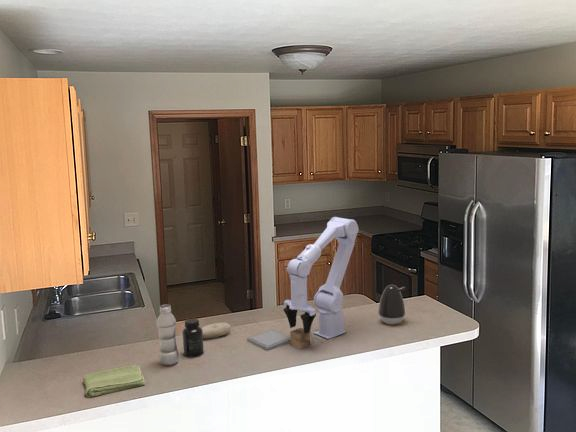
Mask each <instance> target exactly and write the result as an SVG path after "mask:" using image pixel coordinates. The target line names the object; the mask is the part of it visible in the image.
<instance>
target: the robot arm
mask: <svg viewBox="0 0 576 432" xmlns="http://www.w3.org/2000/svg"><path fill="white" fill-rule="evenodd" d="M358 232H359V225H358V224H357V221H356V220H355V219H354V218H353V219H351V218H343V217H338V216H333V217H331V218H330V219H329V221H328V222H327V223H326V228H325V229H324V231H323V232H322V233H321V234H320V236H319V237H318V238H317V239H316V240H315V242H314V243H313V244H312V243H311V244H310V243H309V244H307V245H306V246H305V248H304V249H303V250H302V251H301V253H299V254H298V255H297V257H296V258H292V259H291V260H290V261H289V262H288V264H287V267H286V271H287V273H288V275H289V280H290V299H286V300H284V301H283V305H284V307H285V308H283V312H284V314H285V315H286V318H287V320H288V324H289V327H290V329H291V328H295V327H296V325H297V314H298V311H300V312H302V313H303V314H300V319H301V321H302V325H303V327H302V328H303V329H304V333H305V334H306V333H309V332H310V333H311V328H312V324H313V322H314V320H315V318H316V317H317V313H316V310H317V311H318V330H316V331H314V332H313V334H315V335H317V336H319V337H322V338H324V339H327V340H329V339H332V338H335V337H338V336H340V335H342V334H346V332H347V331H346V330H345V314H344V312H343V310H342V307H343V298H344V293H343V292H342V290H341V289H340V288H341V286H342V283H343V279H344V277H345V274H346V270H347V269H348V268H347V267H348V264H349V262H350V259H351V255H352V253H353V249H354V247H355V244H356V238H357V236H358ZM334 239H336V240H337V242H338V246H337V250H336V253H335V255H334V258H333V261H332V264H331V267H330V270H329V272H328V275H327V279H326V282H325V284H323V285H320V286H319V288H318V291H317V292H316V293H315V294H314V296H313V305H314V306H315V307H316V308H313V306H311V305H309V304H308V276H309V274H310V273H311V268H313V265H314V264H315V263H316V262H317V261H318V259H319V258H320V257H321V255H322V250H323V249H324V248H326V247H327V245H329V244H330V243H331V242H332V241H333V240H334Z"/></svg>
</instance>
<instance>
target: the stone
mask: <svg viewBox="0 0 576 432" xmlns="http://www.w3.org/2000/svg"><path fill="white" fill-rule="evenodd" d="M201 328H202V332H203V339H214V338H218V337H221V336H225V335H226V334H228V333H229V332H230V331H231V328H232V326H231V325H230V324H229V323H227V322H216V323H211V324H207V325H205V326H202V327H201Z"/></svg>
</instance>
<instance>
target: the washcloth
mask: <svg viewBox="0 0 576 432" xmlns="http://www.w3.org/2000/svg"><path fill="white" fill-rule="evenodd" d="M82 381H83V383H84V387H85V396H86V397H88V398H93V397H98V396H103V395H107V394H112V393H113V394H114V393H116V392H119V391H124V390H128V389H131V388H134V387H135V388H136V387H141V386H143V385H146V382H145V378H144V374H143V372H142V370H141V366H140V365H138V364H134V365H133V364H132V365H123V366H121V367H120V366H119V367H117V368H115V367H114V368H111V369H107V370H99V371H96V372H91V373H88V374H86V375H84V376H83V378H82Z"/></svg>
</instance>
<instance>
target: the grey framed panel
mask: <svg viewBox="0 0 576 432" xmlns="http://www.w3.org/2000/svg"><path fill="white" fill-rule="evenodd" d="M246 341H247V342H249V343H251V344H253V345H255V346H256V347H259V348H261V349H263V350H265V351H271V350H273V349H276V348H278V347H281V346H284V345H286V344H289V343H291V339H290V336H288V335H286V334H284V333H281V332H279V331H277V330H274V329H270V330H267V331H264V332H261V333H258V334H255V335H253V336H250V337H247V338H246Z"/></svg>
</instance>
